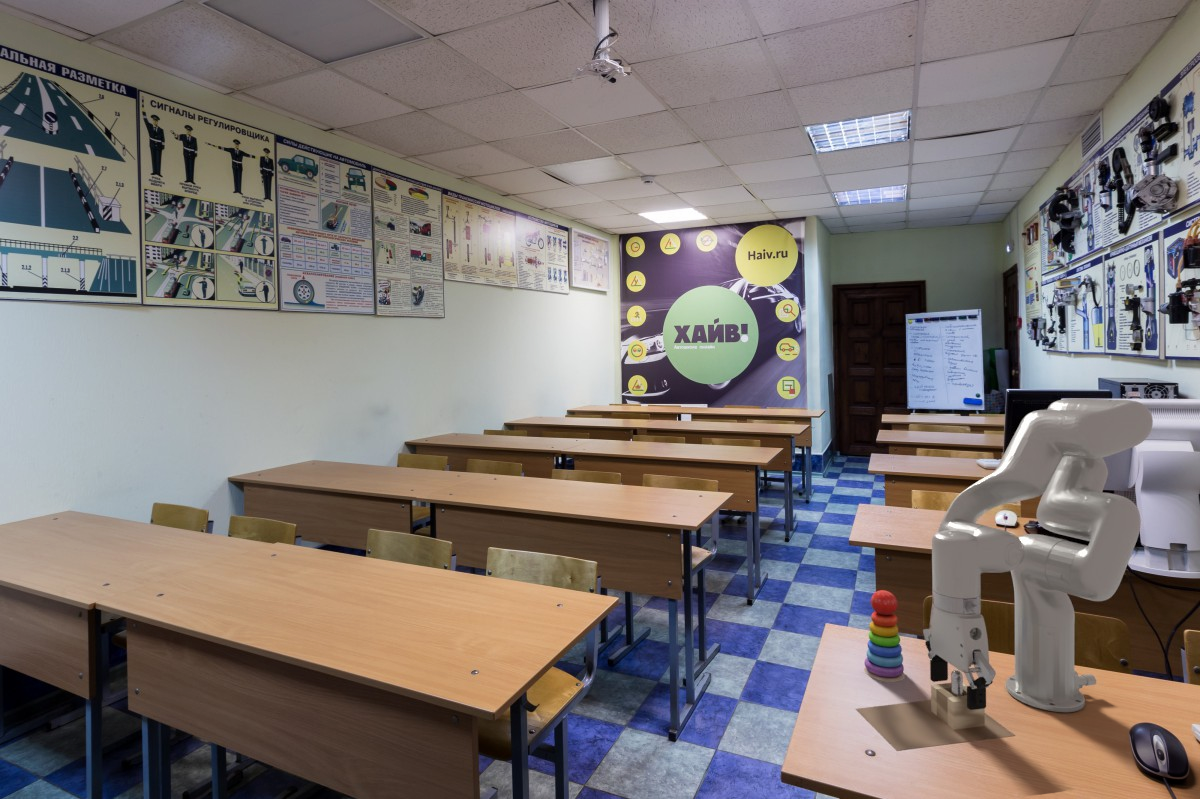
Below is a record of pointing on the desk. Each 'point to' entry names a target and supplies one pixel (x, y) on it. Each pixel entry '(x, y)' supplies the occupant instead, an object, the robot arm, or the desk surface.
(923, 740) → the brown rectangular board
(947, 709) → the wooden square holder
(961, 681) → the grey glassy cylinder
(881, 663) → the stacking toy
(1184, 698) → the desk surface
